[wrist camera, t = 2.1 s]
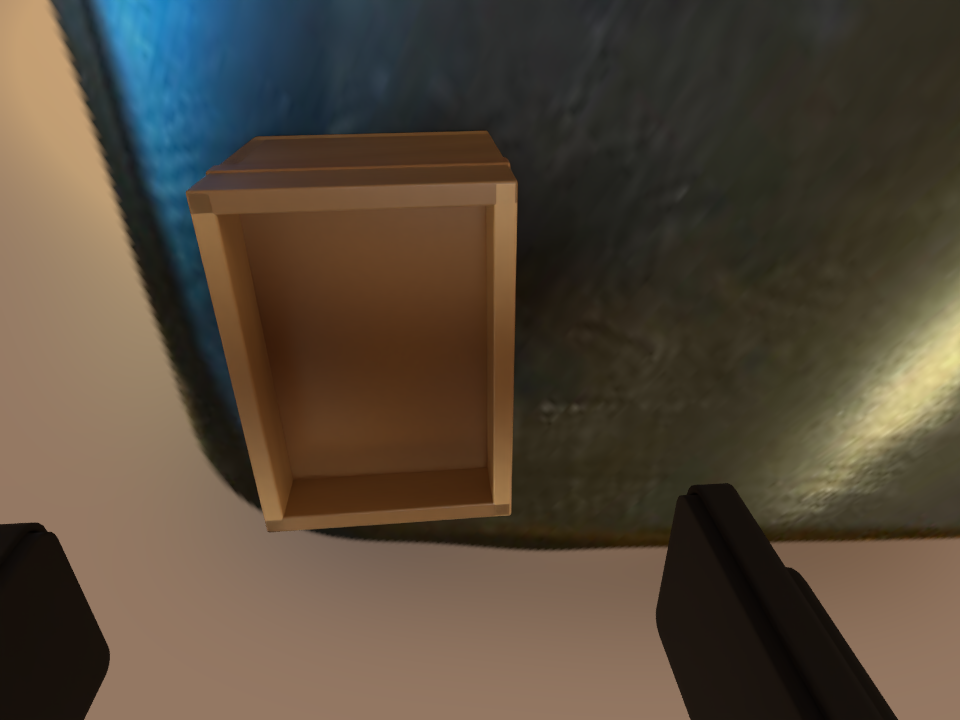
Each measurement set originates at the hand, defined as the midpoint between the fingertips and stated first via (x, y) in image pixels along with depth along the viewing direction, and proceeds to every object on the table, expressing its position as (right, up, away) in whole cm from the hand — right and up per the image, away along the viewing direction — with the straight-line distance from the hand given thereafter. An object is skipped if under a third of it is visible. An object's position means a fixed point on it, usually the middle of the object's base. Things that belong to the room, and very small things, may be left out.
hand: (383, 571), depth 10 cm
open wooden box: (-1, +6, +10) cm, 12 cm away
